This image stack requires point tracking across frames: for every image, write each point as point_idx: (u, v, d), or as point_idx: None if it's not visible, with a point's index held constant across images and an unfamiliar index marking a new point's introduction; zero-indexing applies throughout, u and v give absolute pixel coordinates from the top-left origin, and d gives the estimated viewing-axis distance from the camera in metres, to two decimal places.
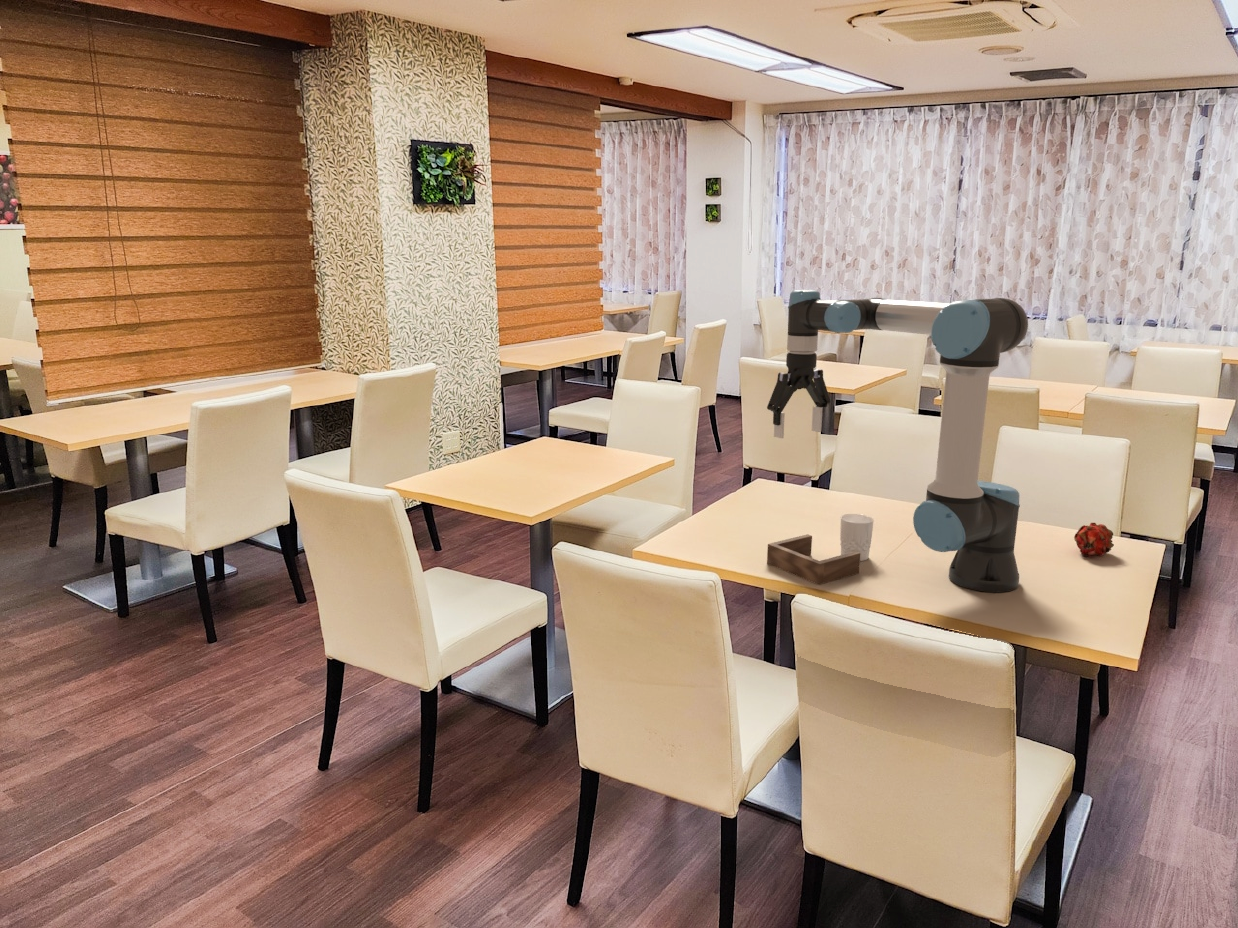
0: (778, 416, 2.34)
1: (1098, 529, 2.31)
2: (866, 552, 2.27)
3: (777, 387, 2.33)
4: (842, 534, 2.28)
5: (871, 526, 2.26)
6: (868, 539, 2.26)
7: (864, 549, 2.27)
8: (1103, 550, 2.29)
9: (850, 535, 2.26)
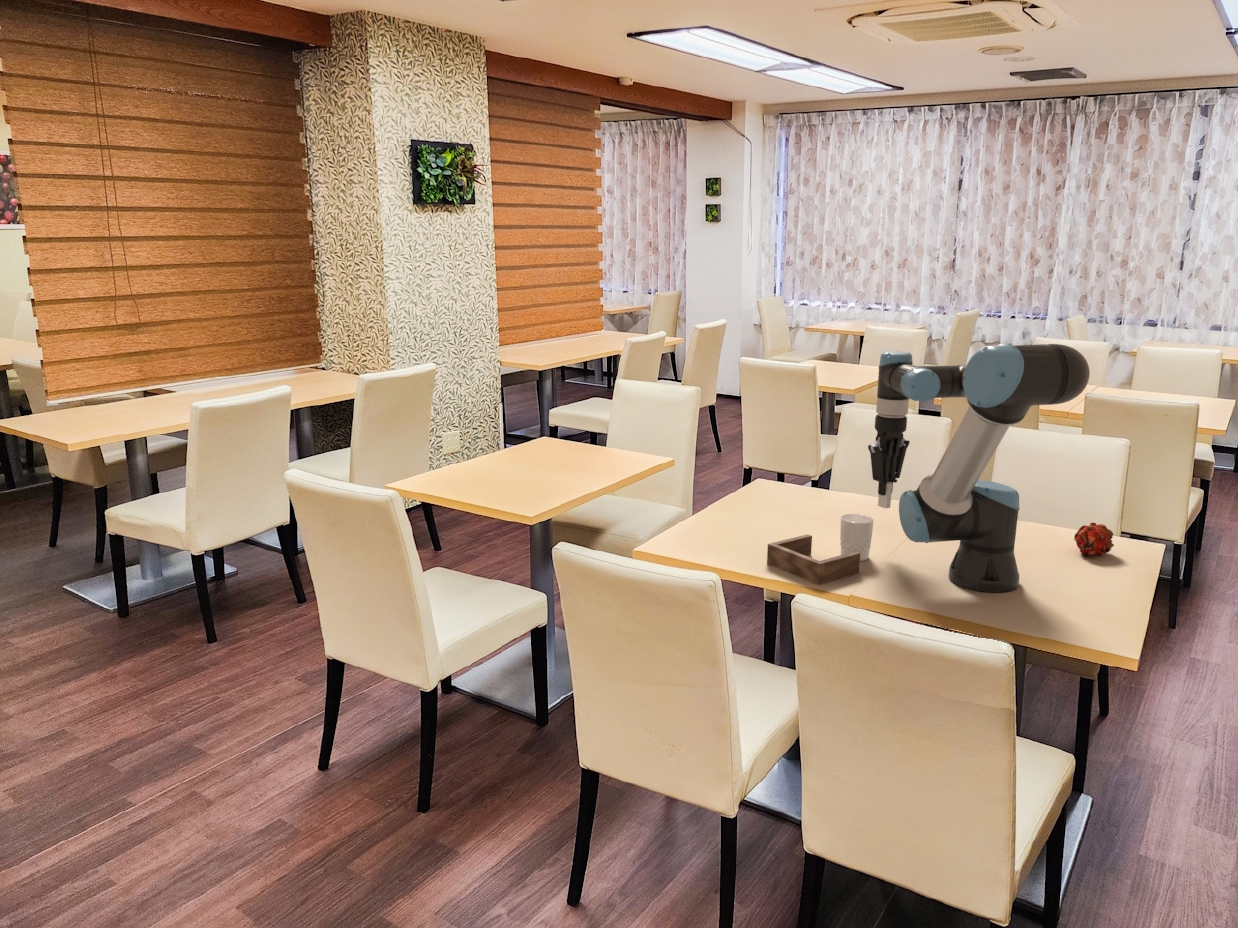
0: (884, 486, 2.31)
1: (1098, 529, 2.31)
2: (866, 552, 2.27)
3: (873, 459, 2.28)
4: (842, 534, 2.28)
5: (871, 526, 2.26)
6: (868, 539, 2.26)
7: (864, 549, 2.27)
8: (1103, 550, 2.29)
9: (850, 535, 2.26)
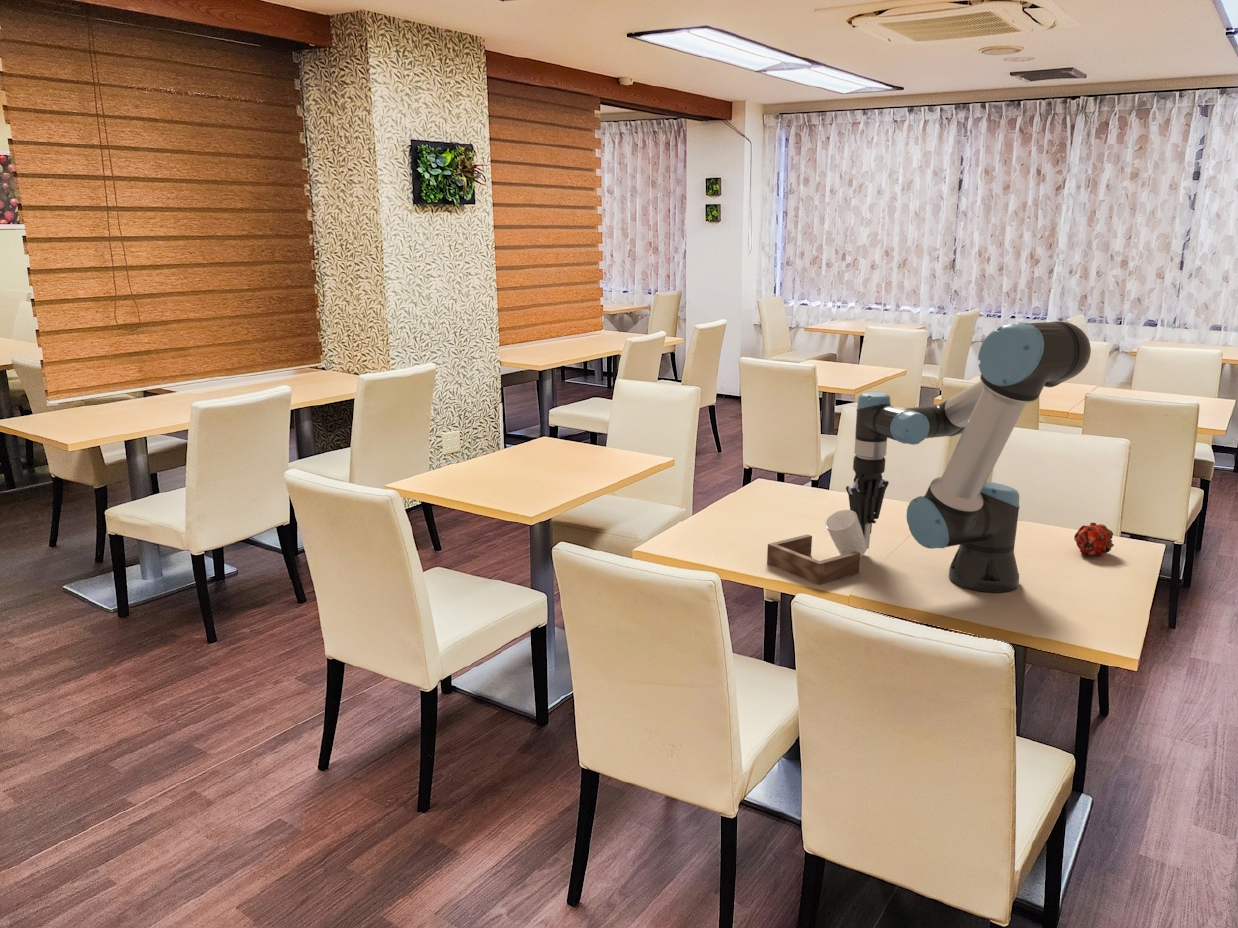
0: (862, 527, 2.30)
1: (1098, 529, 2.31)
2: (862, 547, 2.26)
3: (851, 500, 2.27)
4: (833, 539, 2.27)
5: (856, 524, 2.24)
6: (859, 536, 2.25)
7: (859, 546, 2.26)
8: (1103, 550, 2.29)
9: (839, 540, 2.25)
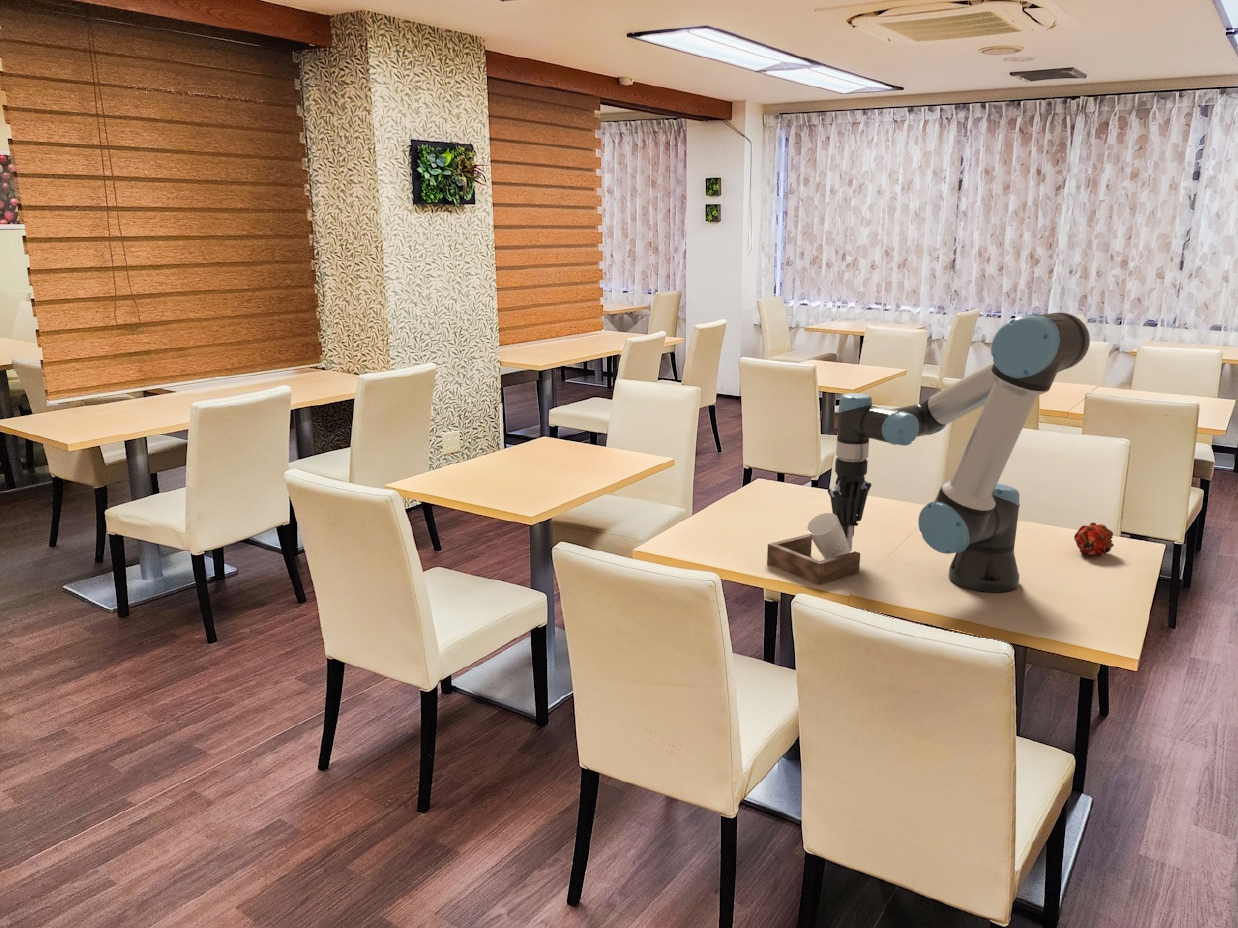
0: (845, 530, 2.27)
1: (1098, 529, 2.31)
2: (845, 550, 2.24)
3: (833, 503, 2.24)
4: (815, 543, 2.24)
5: (838, 528, 2.21)
6: (841, 539, 2.22)
7: (841, 549, 2.23)
8: (1103, 550, 2.29)
9: (821, 544, 2.22)
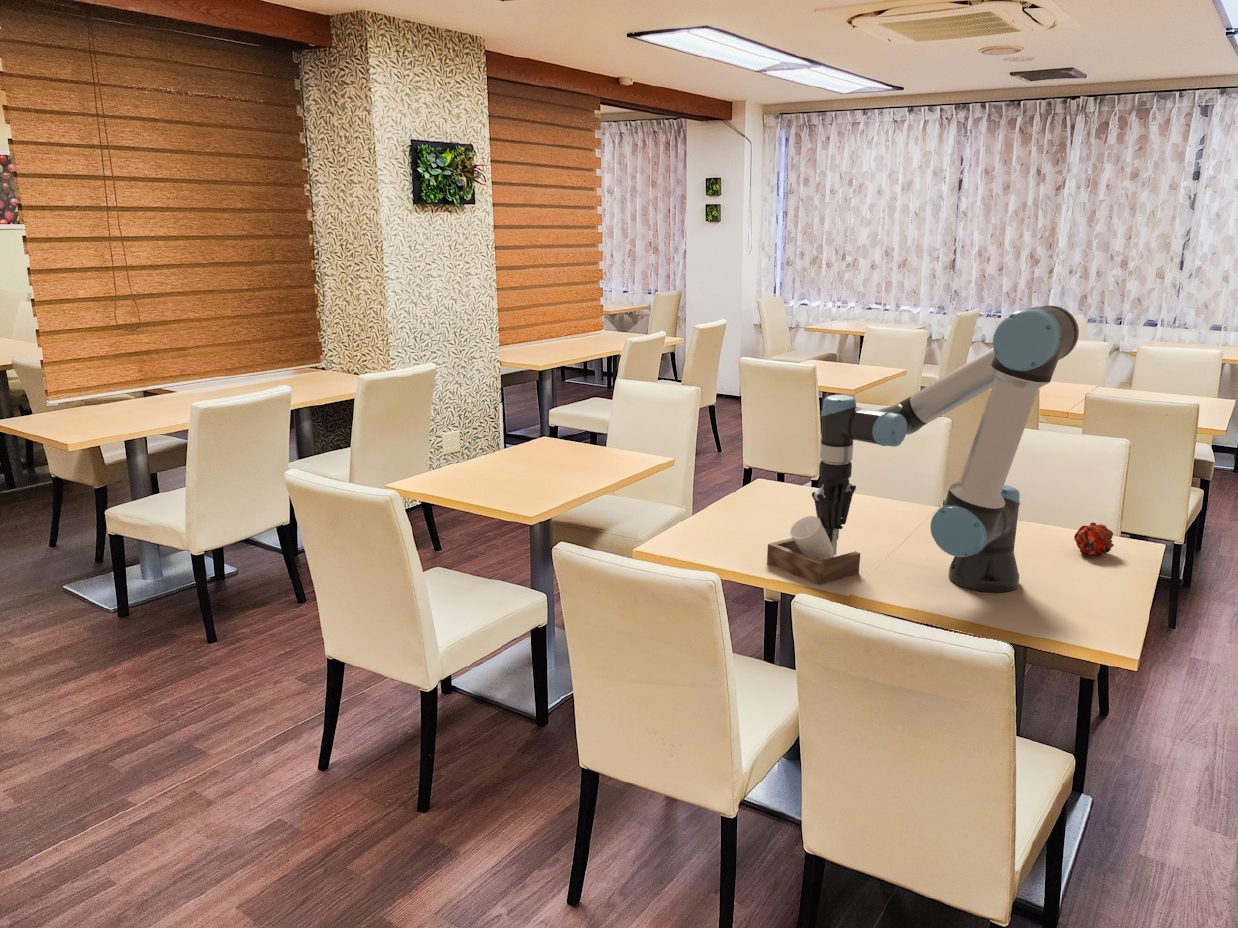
0: (830, 533, 2.24)
1: (1098, 529, 2.31)
2: (828, 553, 2.21)
3: (817, 506, 2.21)
4: (798, 547, 2.22)
5: (820, 532, 2.18)
6: (824, 543, 2.19)
7: (825, 553, 2.20)
8: (1103, 550, 2.29)
9: (804, 548, 2.20)
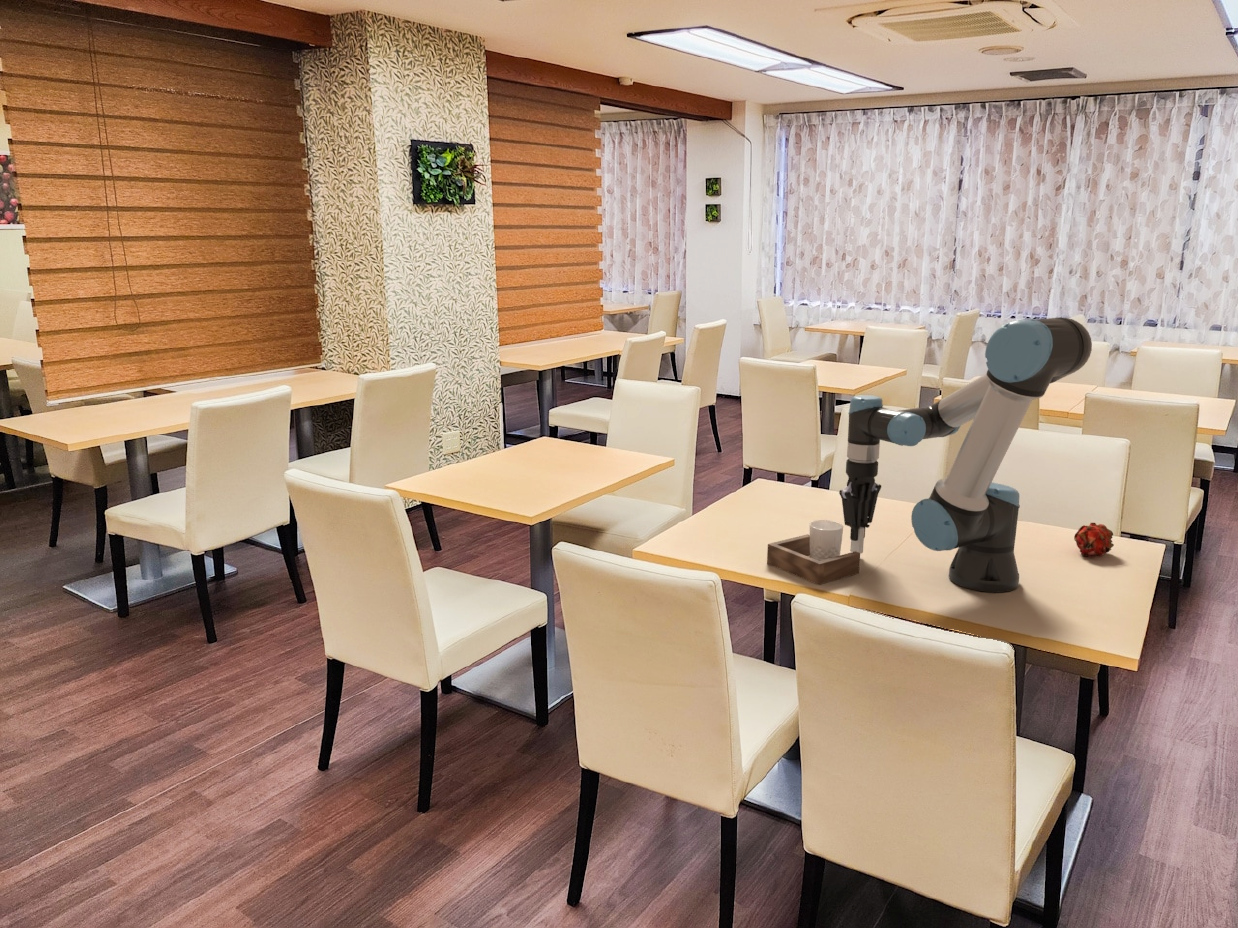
0: (856, 532, 2.28)
1: (1098, 529, 2.31)
2: None
3: (844, 504, 2.25)
4: (810, 540, 2.23)
5: (839, 534, 2.20)
6: (836, 547, 2.21)
7: (831, 557, 2.21)
8: (1103, 550, 2.29)
9: (816, 541, 2.21)
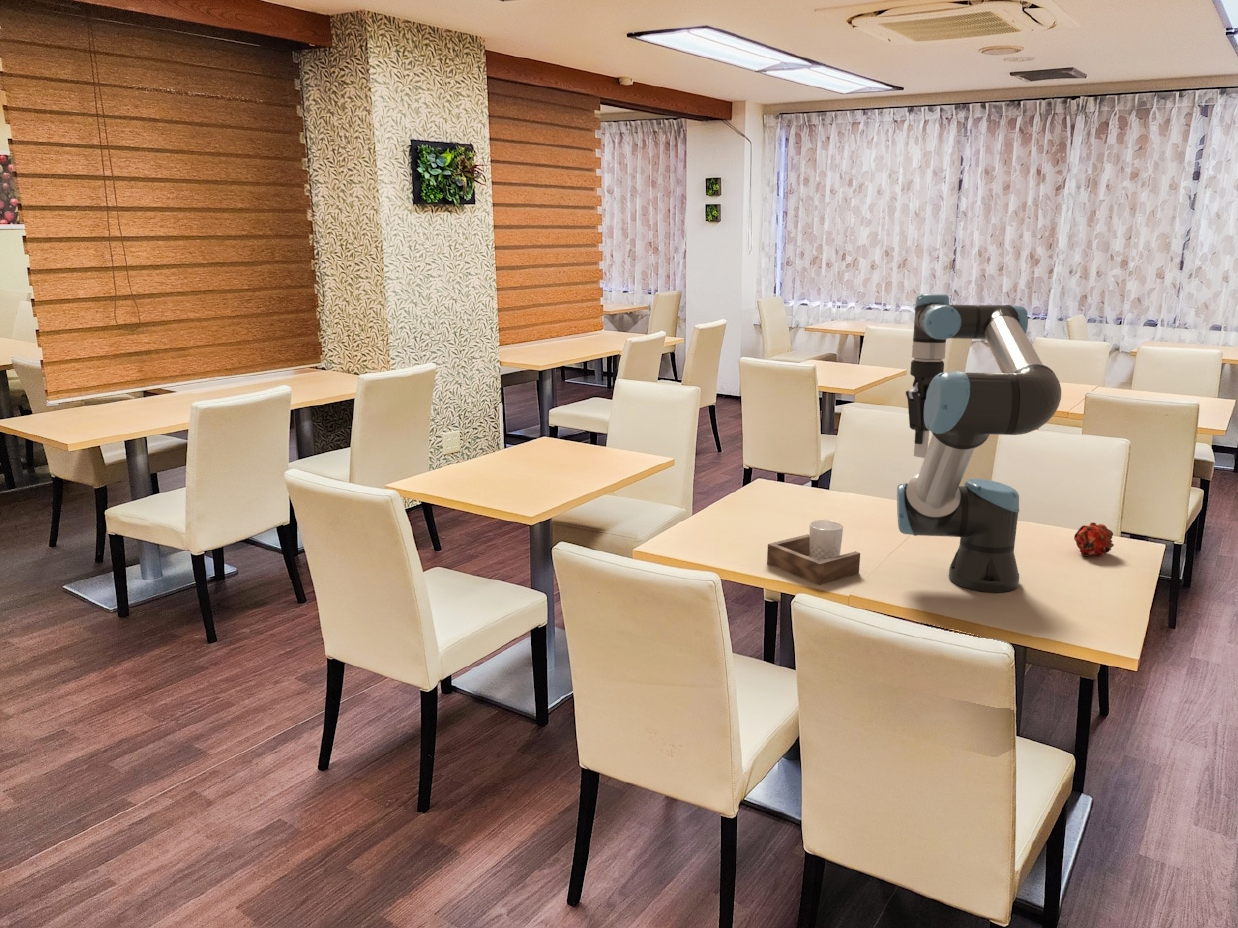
0: (921, 435, 2.24)
1: (1098, 529, 2.31)
2: None
3: (910, 405, 2.21)
4: (810, 540, 2.23)
5: (839, 534, 2.20)
6: (836, 547, 2.21)
7: (831, 557, 2.21)
8: (1103, 550, 2.29)
9: (816, 541, 2.21)
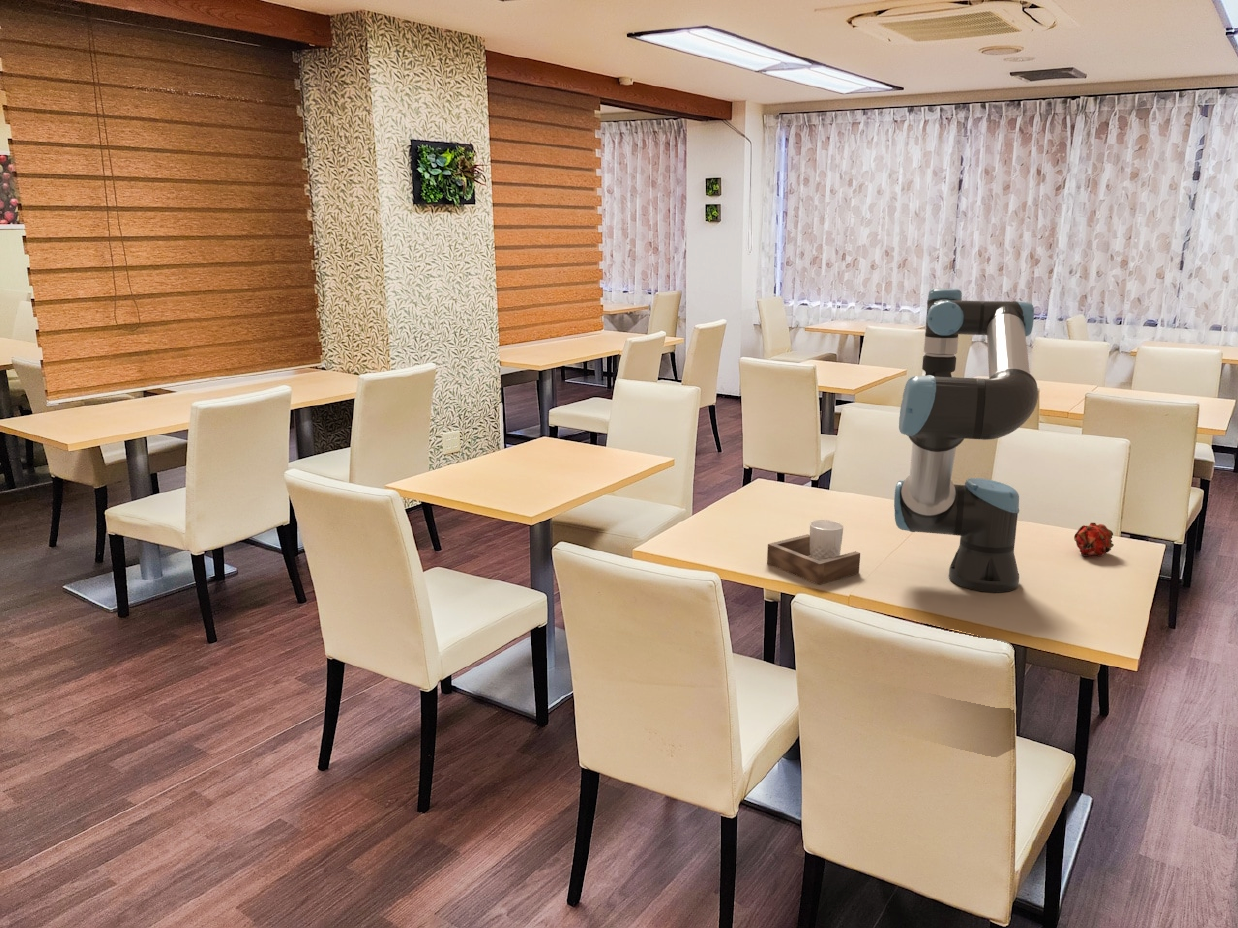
0: None
1: (1098, 529, 2.31)
2: None
3: None
4: (810, 540, 2.23)
5: (839, 534, 2.20)
6: (836, 547, 2.21)
7: (831, 557, 2.21)
8: (1103, 550, 2.29)
9: (817, 541, 2.21)
